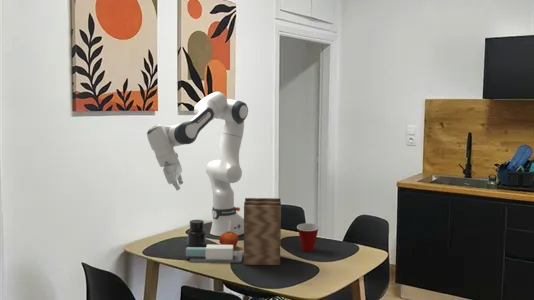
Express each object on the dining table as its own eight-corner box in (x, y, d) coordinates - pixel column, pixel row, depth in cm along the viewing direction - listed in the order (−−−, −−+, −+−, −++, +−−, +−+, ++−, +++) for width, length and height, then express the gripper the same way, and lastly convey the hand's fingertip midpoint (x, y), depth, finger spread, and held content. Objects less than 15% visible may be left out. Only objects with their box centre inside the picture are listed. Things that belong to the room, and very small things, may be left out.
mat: (189, 262, 224) (189, 260, 224) (193, 253, 237) (193, 251, 237) (241, 262, 224) (241, 260, 224) (243, 253, 237) (243, 251, 237)
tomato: (235, 251, 241) (235, 234, 240) (216, 249, 243) (216, 233, 242) (240, 245, 250) (240, 229, 249) (222, 244, 252) (222, 228, 251)
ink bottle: (208, 242, 254) (208, 219, 253) (204, 248, 245) (204, 223, 244) (189, 242, 255) (189, 218, 254) (184, 247, 246) (184, 223, 245)
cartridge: (185, 259, 226) (185, 248, 225) (187, 254, 232) (187, 244, 231) (232, 259, 226) (232, 248, 225) (233, 255, 232) (233, 244, 231)
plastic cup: (292, 251, 241) (292, 227, 240) (301, 245, 251) (302, 222, 249) (313, 255, 236) (314, 230, 235) (322, 249, 246) (322, 224, 244)
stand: (243, 264, 222) (243, 203, 219) (245, 254, 236) (245, 196, 233) (280, 264, 222) (281, 203, 219) (279, 254, 236) (280, 197, 233)
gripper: (170, 162, 220) (183, 190, 223) (177, 152, 240) (189, 178, 243) (157, 167, 221) (170, 195, 223) (165, 157, 241) (177, 183, 243)
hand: (180, 186), depth 233 cm, fingers open, 8 cm apart
